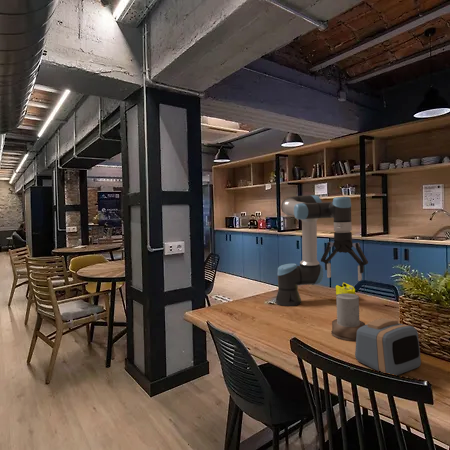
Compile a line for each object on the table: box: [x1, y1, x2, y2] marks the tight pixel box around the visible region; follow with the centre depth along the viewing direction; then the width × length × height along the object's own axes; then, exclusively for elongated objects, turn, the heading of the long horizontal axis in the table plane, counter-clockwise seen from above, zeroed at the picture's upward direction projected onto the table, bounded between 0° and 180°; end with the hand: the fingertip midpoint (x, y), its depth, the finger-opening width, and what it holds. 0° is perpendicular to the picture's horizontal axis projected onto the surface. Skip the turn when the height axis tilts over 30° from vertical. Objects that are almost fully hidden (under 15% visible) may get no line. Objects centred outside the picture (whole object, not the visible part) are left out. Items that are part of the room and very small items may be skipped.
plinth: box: [330, 318, 366, 342], centre depth 147 cm, size 15×15×5 cm
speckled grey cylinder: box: [335, 293, 361, 327], centre depth 146 cm, size 10×10×12 cm
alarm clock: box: [354, 317, 422, 376], centre depth 118 cm, size 16×16×16 cm
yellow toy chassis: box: [335, 282, 356, 295], centre depth 205 cm, size 16×6×8 cm, turn 6°
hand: (344, 278), depth 147 cm, fingers open, 13 cm apart
